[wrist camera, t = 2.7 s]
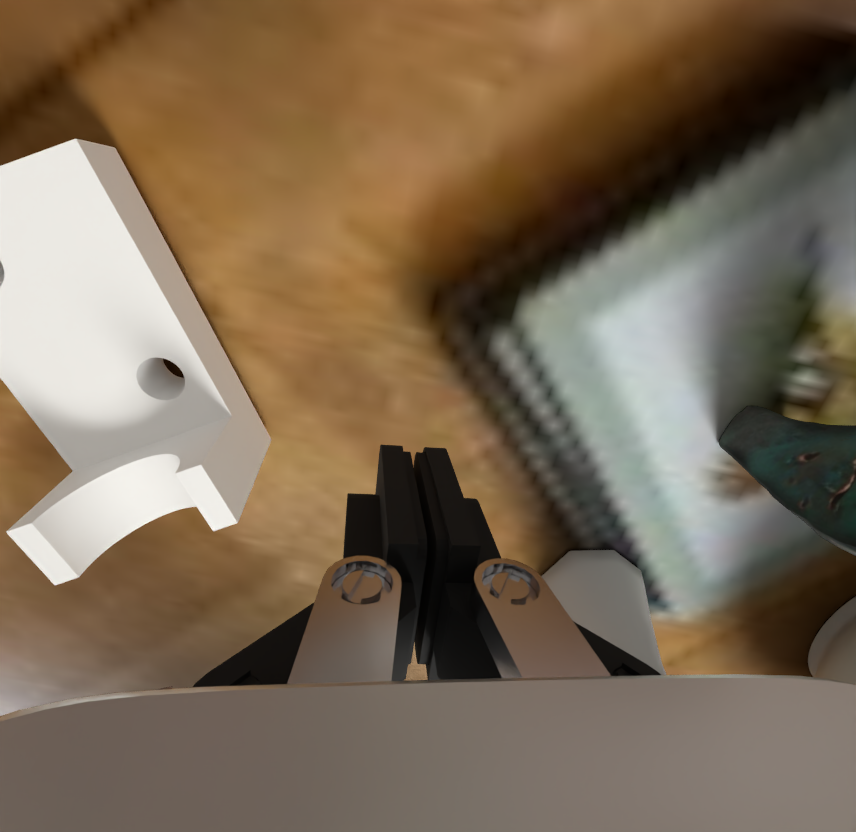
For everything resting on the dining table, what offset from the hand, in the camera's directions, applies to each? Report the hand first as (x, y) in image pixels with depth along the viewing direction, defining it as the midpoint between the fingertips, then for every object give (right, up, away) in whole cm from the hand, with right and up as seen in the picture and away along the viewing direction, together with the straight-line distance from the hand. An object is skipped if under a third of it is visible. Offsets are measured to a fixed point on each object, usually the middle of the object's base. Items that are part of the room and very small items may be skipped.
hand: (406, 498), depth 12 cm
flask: (+11, -9, +19) cm, 23 cm away
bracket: (-13, +6, +9) cm, 17 cm away
